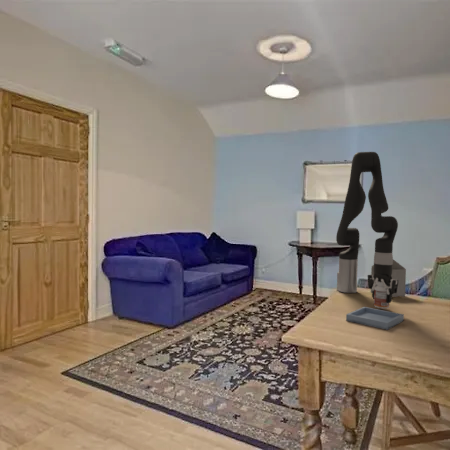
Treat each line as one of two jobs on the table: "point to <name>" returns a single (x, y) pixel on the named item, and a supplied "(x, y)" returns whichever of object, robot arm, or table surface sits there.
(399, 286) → the planter
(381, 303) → the pill bottle
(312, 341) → the table surface
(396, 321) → the tray
